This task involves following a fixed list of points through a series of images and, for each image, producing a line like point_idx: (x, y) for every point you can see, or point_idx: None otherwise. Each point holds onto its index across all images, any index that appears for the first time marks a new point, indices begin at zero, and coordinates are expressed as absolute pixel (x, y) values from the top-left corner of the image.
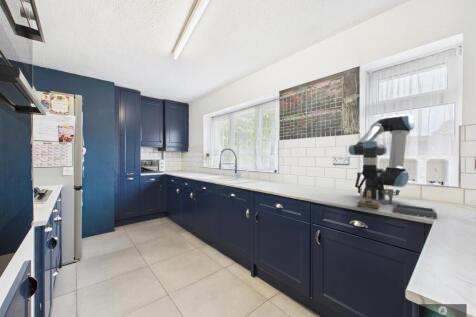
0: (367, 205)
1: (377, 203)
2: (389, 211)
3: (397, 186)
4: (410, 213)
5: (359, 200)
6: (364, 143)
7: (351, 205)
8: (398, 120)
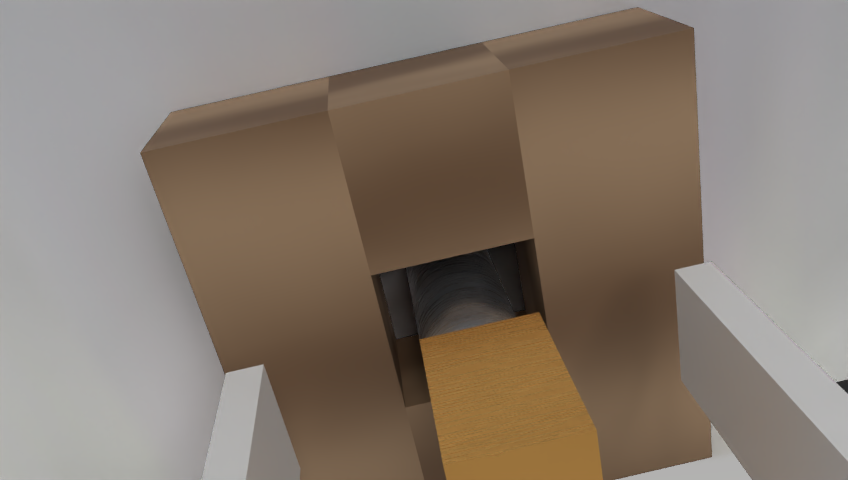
0: None
1: (673, 320)
2: (843, 335)
3: None
4: None
5: (223, 345)
6: None
7: (157, 463)
8: None
